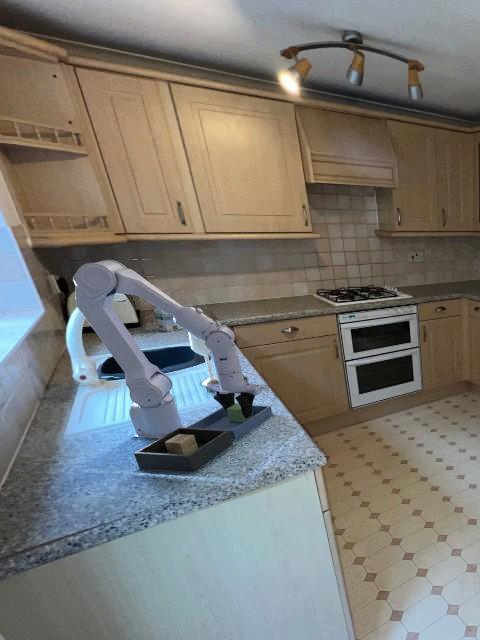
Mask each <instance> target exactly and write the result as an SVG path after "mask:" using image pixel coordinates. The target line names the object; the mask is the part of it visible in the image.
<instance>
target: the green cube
mask: <svg viewBox="0 0 480 640" xmlns="http://www.w3.org/2000/svg"><path fill="white" fill-rule="evenodd" d="M227 413H228V417H229V420H230V422H245V421H246V420H248V419H249V418H251V417H252V416H253V415H251V416H250V417H248V418H245V417H244V415H243V413H242V409H241V407H240V405H239V403H238V402H235V404H234V405H232V406H231V407H229V408H227Z"/></svg>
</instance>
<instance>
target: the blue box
mask: <svg viewBox="0 0 480 640" xmlns="http://www.w3.org/2000/svg"><path fill="white" fill-rule="evenodd" d="M252 415H253V416H252V417H251V418H249V419H248V420H246V421H245V422H230V420H229V417H228V414H227V412H226V411H225V409H224V408H223V407H222V406H221V407H220V408H218V409H216V410H215V411H213V412H211V413H210V414H207V415H206V416H205V417H202V418H201V419H199V420H196V421H195V422H193V423H192V424H191V425H190V426H188V427H187V428H195V429H213V430H229V432H230V436H231V439H232V441H233V440H235V441H236V440H237V439H239V438H240V437H242V436H243V435H245V434H246V433H248V432H249V431H250V430H252V429H253V428H255V427H256V426H257V425H259V424H261V423H262V422H264V421H265V420H266V419H268V418H270V417H271V416H272V415H273V410H272V406H271V405H257V404H255V405H254V404H253V405H252Z"/></svg>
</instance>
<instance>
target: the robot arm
mask: <svg viewBox="0 0 480 640" xmlns="http://www.w3.org/2000/svg"><path fill="white" fill-rule="evenodd" d="M72 281H73V282H74V302H75V305H76V307H77V309H78V310H79V311H80V313H81V315H83V318H85V320H86V322H88V324H89V325H90V327H91V328H92V330H93V331H94V332H95V334H96V335H97V336H98V338H99V339H100V340H101V342H102V344H103V345H104V346H105V347H106V349H107V350H108V351H109V353H110V355H111V356H112V357H113V359H114V360H115V361H116V363H117V364H118V366H119V367H120V368H121V369H122V371H123V372H124V382H125V386H126V387H127V389H128V390H129V399H130V400H131V401H132V402H133V403H132V405H131V406H130V408H129V417H130V420H131V422H132V425H133V428H134V431H135V433H136V434H134V435H133V438H147V439H160V438H162V437H163V436H165V435H167V434H169V433H171V432H172V431H174V430H176V429H178V428H187V427H188V426H190V425H192V424H191V423H183V422H182V419H181V416H180V413H179V410H178V406H177V404H176V403H177V402H176V400H175V397H174V395H173V394H172V393H171V392H170V391H171V389H172V388H173V381H172V379H171V378H170V377H169V376H168V375H167V374H166V373H164V372H163V371H161V370H160V368H159V367H158V366H157V365H155V364H153V363H151V362H150V360H148V358H147V357H146V355H145V353H144V352H143V351H142V349H141V348H140V346H139V345H138V343H137V341H136V340H135V339H134V338H133V335H132V334H131V333H130V331H129V330H128V328H127V327H126V326H125V324H124V322H122V320H121V318H120V317H119V316H118V313H116V311H115V309H114V308H113V307H112V304H111V303H112V301H113V299H114V298H115V296H116V295H117V294H118V295H119V294H121V295H131V296H137V297H139V298H140V299H142V300H144V301H146V302H147V303H149V304H150V305H152V306H153V307H156V308H157V309H161V310H163V311H165V312H166V313H168V314H170V315H171V316H173V318H174V322H175V324H176V325H178V326H180V327H181V328H183V329H182V330H184V331H186V332H189V333H191V334H192V335H194V336H196V337H197V338H199V339H200V340H203V341H206V342H205V345H206V347H207V348H208V349H209V350H211V360H212V362H213V366H214V370H215V374H216V377H217V378H218V381H219V384H209V385H207V386H205V385H204V386H205V391H206V393H208V394H211V393H215V392H217V394H215V395H213V399H214V400H215V401H216V402H217V403H218V404H220V406H221V408H222V407H223V408H224V409H225V411H226V412H227V408H229V407H231V406H232V405H234V404H236V403H239V405H240V407H241V409H242V413H243V415H244V417H245V418H248V417H250V416H251V415H252V405H254V400H255V398H256V396H257V395H260V394H261V393H262V388H261V386H260V385H254V384H251V383H249V384H247V383H245V382H244V378H243V375H244V374H243V369H242V366H241V362H240V357H239V353H238V352H237V348H236V344H235V341H236V335H235V334H236V333H235V332H234V330H233V329H231V328H230V326H228V325H224V324H222V323H221V322H220V321H217V322H216V321H215V320H213V319H212V318H210V317H209V316H207V315H206V314H204V313H203V312H204V310H203V309H201V308H200V307H197V308H196V307H194V306H183V305H182V304H180V303H179V302H177V301H176V300H175V299H173V298H172V297H170V296H169V295H168V294H167V293H165V292H164V291H163V290H161V289H160V288H158V287H156V286H155V285H153V284H152V283H150V282H149V281H148V280H146V279H145V278H144V277H143V276H141V275H140V274H139V273H138V272H136V271H135V270H133V269H131V268H127V266H125V264H123V263H121V262H119V261H117V260H113V259H103V260H100V261H97V262H89V263H88V262H87V263H84V264H82V265H81V266H79V267H78V269H77V270H76V271H75V273H74V275H73V276H72ZM189 333H188V334H189ZM235 394H239V395H237V396H235ZM227 414H228V413H227Z"/></svg>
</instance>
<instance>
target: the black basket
mask: <svg viewBox="0 0 480 640" xmlns="http://www.w3.org/2000/svg"><path fill="white" fill-rule="evenodd" d="M178 434H184V435H194V437H195V440H196V443H197V446H198V449H197V450H196V451H194V452H193V453H191V454H190V455H180V454H169V453H168V451H167V448H166V445H165V442H166V441H168V440H170V439H171V438H173V437H175V436H176V435H178ZM233 445H234V443H233V439H231V436H230V432H229V430H213V429H195V428H178V429H176V430H174V431H172V432H171V433H169V434H167V435H165V436H163V437H162V438H157V440H155V441H153V442H151V443H149V444H147V445H146V446H144V447H142V448H140V449H138V450H136V451H134V452H133V455H134V457H135V462H136V463H137V466H138V468H139V469H141V470H158V471H171V472H173V471H174V472H191V473H195V472H196V471H198V470H199V469H201V468H202V467H204V466H205V465H206V464H207V463H209V462H210V461H212V460H213V459H215V458H216V457H217V456H219V455H221V454H222V453H223V452H224V451H226V450H228V449H229V448H230V447H232V446H233Z"/></svg>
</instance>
